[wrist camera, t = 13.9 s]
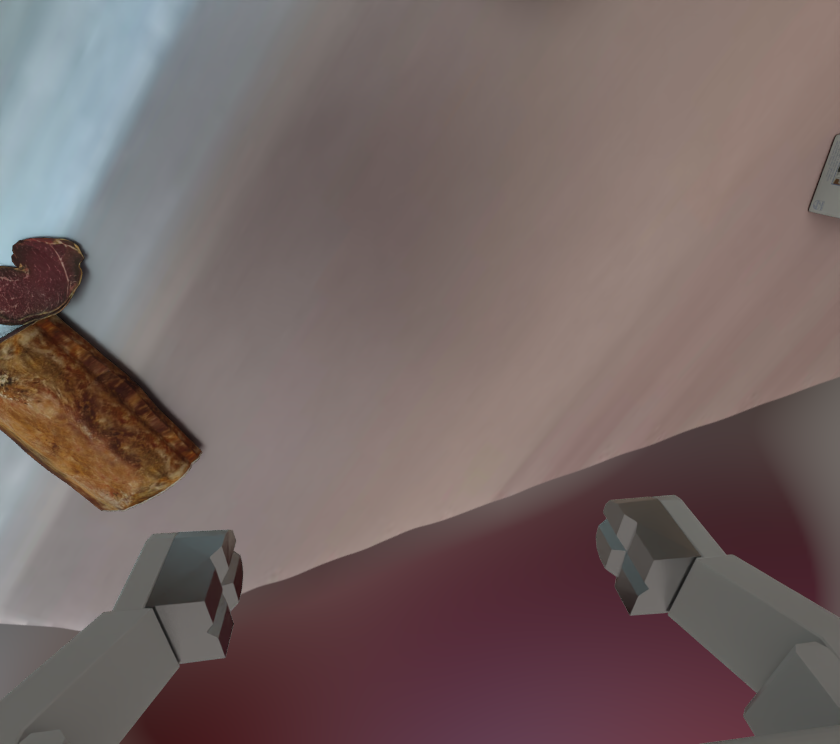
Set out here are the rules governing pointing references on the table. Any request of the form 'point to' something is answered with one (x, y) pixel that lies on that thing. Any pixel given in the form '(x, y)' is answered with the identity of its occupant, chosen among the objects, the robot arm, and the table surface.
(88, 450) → the cured meat
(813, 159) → the table surface
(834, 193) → the light bulb box
